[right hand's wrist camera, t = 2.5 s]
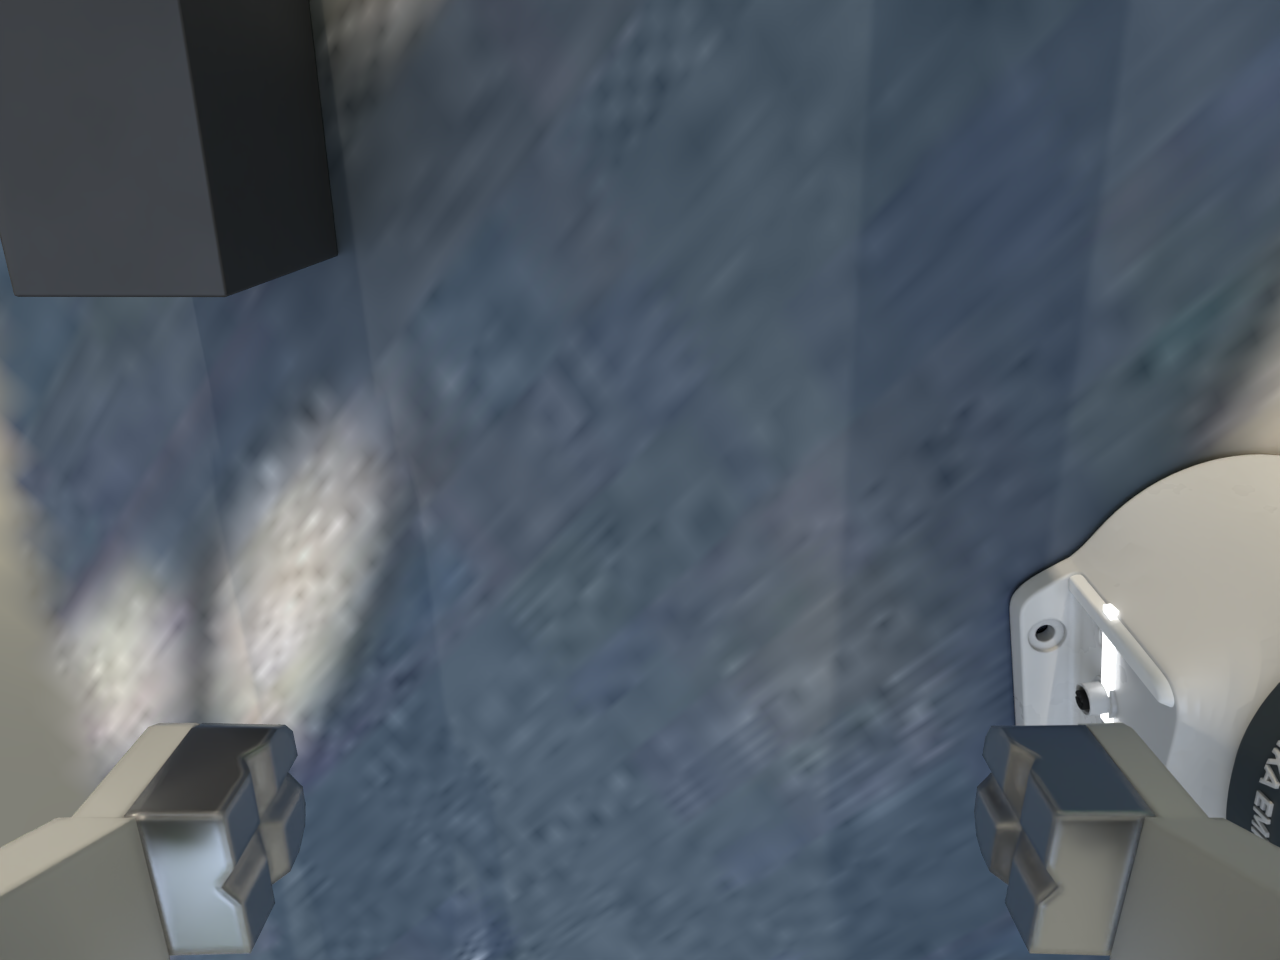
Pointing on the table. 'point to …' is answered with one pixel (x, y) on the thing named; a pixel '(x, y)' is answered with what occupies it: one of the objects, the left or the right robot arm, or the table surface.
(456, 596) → the table surface
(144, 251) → the box
